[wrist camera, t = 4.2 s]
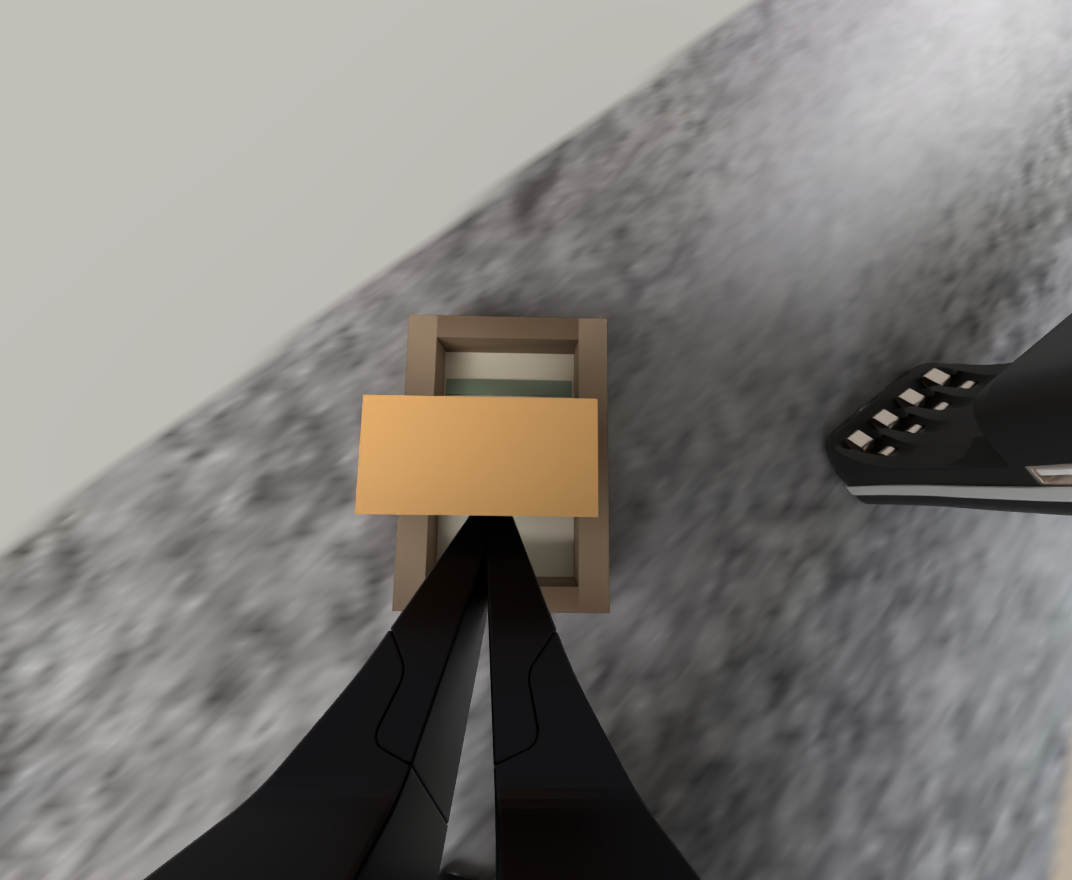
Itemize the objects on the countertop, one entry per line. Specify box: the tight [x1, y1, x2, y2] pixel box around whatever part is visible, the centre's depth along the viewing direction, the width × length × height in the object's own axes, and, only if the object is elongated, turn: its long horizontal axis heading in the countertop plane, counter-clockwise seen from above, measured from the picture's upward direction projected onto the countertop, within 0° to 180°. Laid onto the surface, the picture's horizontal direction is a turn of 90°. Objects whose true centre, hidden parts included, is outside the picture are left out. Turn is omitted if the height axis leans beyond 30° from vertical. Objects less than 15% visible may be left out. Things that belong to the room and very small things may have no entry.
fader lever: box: [355, 395, 598, 517], centre depth 11 cm, size 2×4×8 cm, turn 89°
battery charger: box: [827, 313, 1072, 515], centre depth 11 cm, size 7×4×11 cm, turn 127°
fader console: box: [392, 315, 610, 613], centre depth 15 cm, size 10×7×3 cm
